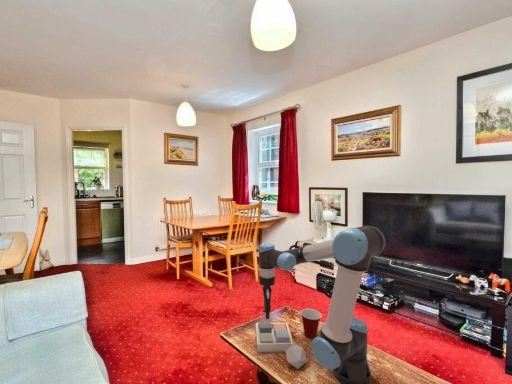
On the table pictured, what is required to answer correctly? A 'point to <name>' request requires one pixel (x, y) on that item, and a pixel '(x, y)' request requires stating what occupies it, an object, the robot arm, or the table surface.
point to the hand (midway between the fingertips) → (267, 324)
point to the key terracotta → (279, 327)
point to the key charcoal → (265, 327)
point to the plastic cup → (310, 322)
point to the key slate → (282, 336)
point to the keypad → (272, 346)
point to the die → (296, 355)
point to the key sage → (266, 338)
